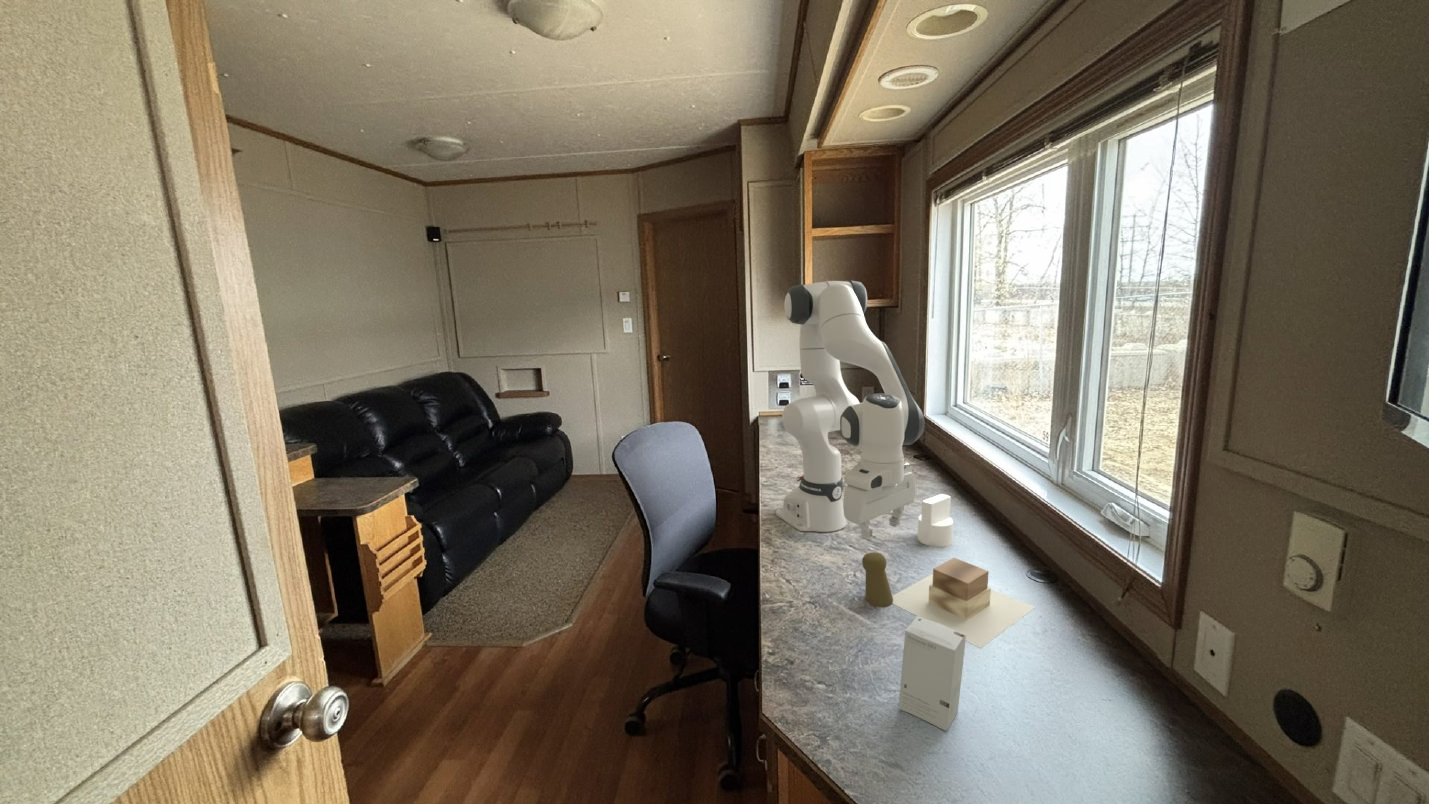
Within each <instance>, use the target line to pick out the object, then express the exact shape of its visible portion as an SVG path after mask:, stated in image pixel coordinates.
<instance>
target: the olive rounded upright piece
mask: <svg viewBox="0 0 1429 804" xmlns="http://www.w3.org/2000/svg"><path fill="white" fill-rule="evenodd" d="M861 560H862V561H861V564H862V567H863V570H865V598H864V599H865V601H866V602H867V603H868V604H870V605H871V606H874V607H879V608H885V607H889V606H891V605H892V603H893V597H892V596H893V593H892V590H891V586H890V582H889V579H888V576H887V572H886V568H887V559H886V557H885V556H884V554H882V553H879V552H868V553H866V554H865V555H863V557H862V559H861Z"/></svg>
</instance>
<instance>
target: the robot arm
mask: <svg viewBox="0 0 1429 804" xmlns="http://www.w3.org/2000/svg"><path fill="white" fill-rule="evenodd" d="M783 305H784V306H783V307H784V312H785V314H786V317H787V320H789V321H790V323H792V324H796V325H800V327H799V358H800V359H799V360H800V363H799V364H800V375H801V376H802V378H804V379H805V381H807V382H809V383H811V385H813V387H814V390H815V393H816V395H815V396H814V395H813V396H808V397H804V398H803V397H801V398H799V399H797V400H794V401H792V402H790V403H788V404H786V405H785V407H784V408H783V411H782V415H781V421H782V424H783V425H782V426H783V428H784V429H785V430H786V432H787V433H788V434H789V435H790V436H792V437H794V439H795V440H796V441H797V443H798V444H799V446H800V449H801V454H802V464H803V465H802V466H803V467H802V468H803V473H802V476H798V477H796V479H797V480H796V481H797V482H799V486H797V487H796V488H795V489H793V490H791V491H790V492H789V493H787V494H786V495H785V496H784V498H783V502H782V503H783V504H782V506H781V507H779V508H778V509H776V511H775V515H776V516H777V517H779V518H780V519H782V520H783V521H785V522H786V523H787V524H789V525H791V526H792V527H793V528H795V529H797V531H800V532H820V533H821V532H822V533H824V532H825V533H827V532H828V533H829V532H835V531H838V530H841V529H843V528H845V527H846V526H847V523H848V522H850V523H853V524H855V525H858V526H859V528H860V530H861V533H860V535H861V538H863V539H865V540H869V539H870V538H872V537H873V529H871V528H869V525H870V522H871V520H873V519H876V518H878V517H881V516H883V515H886V514H888V513H890V512H892V513H891V516H890V517H889V518H888V519H889V520H888V521H889V522H888V523H889V526H890V527H893V528H896V527H898V526H900V525H901V517H902V515H903V512H904V511H905V506H908V505H910V504H913V503H914V502H915V499H916V498H917V497H916V495H917V491H916V490H917V489H916V480H915V479H916V478H915V474H913V467H912V465H911V464H910V463H908V462H905V457H904V456H905V455H904V452H903V446H905V445H907V446H908V445H909V446H911V445H913V444H914V443H915V442H916V441H918V439H919V438H920V437H921V436H922V434H923V433H924V431H925V427H926V425H925V424H926V422H925V420H926V419H925V416H924V413H923V411H922V409H921V408H920V407H919V405H918V404H917V401H916V400H915V399H914V397H913V396H912V394H911V392H910V390H909V388H908V385H907V384H906V381H905V379H904V377H903V375H902V373H901V370H900V369H899V366H898V365H897V364H898V363H897V362H896V360H895V357H894V356H893V354H892V352H891V350H890V348H889V347H888V345H887V344H886V343H885V342H884V341H882V340H880V339H879V338H878V337H876V335H875V334H874V333H873V332H872V331H871V329H870V328H869V325H868V324H867V322H866V317H865V315H864V314H865V313H866V311H867V307H868V292H867V289H866V287H865V286H864V284H863V282H861V281H856V280H849V279H848V280H845V281H844V280H825V281H820V282H814V283H813V282H812V283H808V284H803V283H802V284H801V283H800V284H798V285H797V284H796V285H794V286H791V287H789V289H788V290H787V291H786V294H785V299H784V304H783ZM841 362H842V363H845V364H849V365H854V366H857V367H860V368H863V369H865V370H868V371H869V372H871V373H872V374H874V375H875V376H876V378H877V379H878V381H879V384H880V385H881V389H883V392H884V393H882V392H881V393H872V394H868V395H866V396H865V397H864V398H863V400H862V402H860V401H859V399H858V398H857V397H856V395H854V394H853V393H852V392H850V390H848V388H847V385H846V384H845V382H844V379H843V376H842V375H843V374H842V370H841ZM836 431H837V432H838V431H840V436H841V438H842V439H843V440H844V441H845V442H846V443H848V444H849V445H851V446H853V447H860V448H861V454H860V461H858V462H857V463H856V465H854V467H853V468H852V469H850V470H848V471H847V472H846V473H845V474H844V477H842V454H841V452H840V450H839V449H838V448H837V447H836V446H835V445H832V444H830V442H829V437H828V435H829V433H831V432H836ZM844 484H846V487H845V488H844ZM843 488H844V489H843ZM843 490H844V492H843ZM847 521H848V522H847Z"/></svg>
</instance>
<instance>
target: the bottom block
mask: <svg viewBox="0 0 1429 804" xmlns="http://www.w3.org/2000/svg"><path fill="white" fill-rule="evenodd" d="M991 589H992V588H991V587H987V589H985V590H984V591H982V592H981V593H979V594H978V595H976V596H974V597H973V598H971V599H970V600H968V601H966V600H963V599H961V598H959V597H957V596H955V595H952V594H950V593H948V592H946V591H943V590H941V589H939V588H937V587H935V586H933V584H931V585H929V601H928V602H930V603H932V604H934V605H936V606H938V607H940V608H942V609H944V610H946V611H948V612H950V613H953V614H955V615H957V616H959V617H961V618H963V619H965V620H968V619H970V618H971V617H973V616H974V615H976V614H977V613H979V612H980V611H982V610H983V609H985V608H986V607H988V606H989V605H990V595H991Z"/></svg>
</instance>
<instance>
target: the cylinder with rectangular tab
mask: <svg viewBox="0 0 1429 804" xmlns="http://www.w3.org/2000/svg"><path fill="white" fill-rule="evenodd" d="M951 501H952V497H951V496H950V495H948V494H945V493H944V494H943V493H938V495H934V496H932V497H929V498H928V497H927V498H926V499H924V500H921V514H920V515H918V520H917V540H918V541H919V542H920V543H921V544H923V545H926V546H929V547H931V546H932V547H934V548H945V547H946V548H947V547H950V546H951V545H952V544H953V542H954V541H953V539H954V538H953V537H954V536H953V535H954V520H953V518H952V517H951V504H952V503H951Z"/></svg>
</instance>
